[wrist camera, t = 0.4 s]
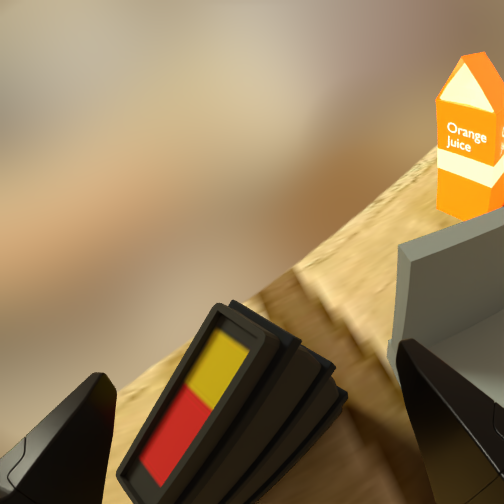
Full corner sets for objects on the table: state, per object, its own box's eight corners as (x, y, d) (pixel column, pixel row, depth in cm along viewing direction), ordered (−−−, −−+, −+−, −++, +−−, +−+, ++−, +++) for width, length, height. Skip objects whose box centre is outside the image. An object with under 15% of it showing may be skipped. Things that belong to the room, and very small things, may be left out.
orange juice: (506, 201, 34) (513, 57, 21) (485, 231, 31) (495, 62, 19) (461, 182, 39) (458, 47, 27) (434, 208, 37) (428, 52, 25)
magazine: (371, 372, 22) (280, 330, 11) (281, 500, 21) (133, 544, 10) (333, 351, 25) (215, 289, 14) (250, 474, 23) (99, 491, 12)
